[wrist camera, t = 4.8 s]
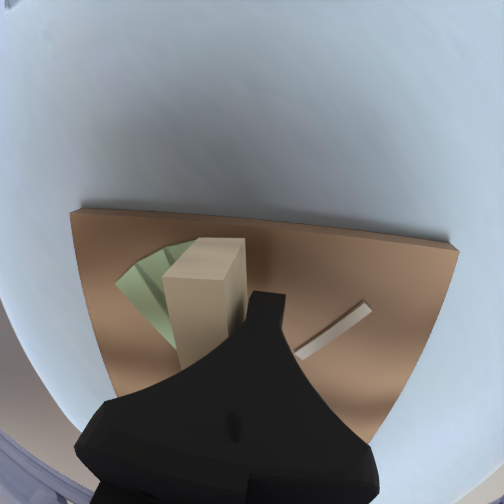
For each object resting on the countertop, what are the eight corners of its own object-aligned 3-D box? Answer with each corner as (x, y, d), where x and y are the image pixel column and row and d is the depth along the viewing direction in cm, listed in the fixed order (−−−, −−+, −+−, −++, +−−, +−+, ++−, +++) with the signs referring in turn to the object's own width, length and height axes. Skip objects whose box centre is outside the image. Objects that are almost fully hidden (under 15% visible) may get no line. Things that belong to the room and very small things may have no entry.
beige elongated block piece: (285, 423, 14) (279, 481, 11) (202, 414, 15) (183, 467, 11) (297, 230, 10) (296, 283, 6) (165, 228, 11) (108, 272, 7)
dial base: (352, 454, 18) (352, 466, 16) (136, 421, 20) (131, 431, 18) (449, 243, 11) (461, 252, 10) (81, 207, 13) (66, 214, 12)
